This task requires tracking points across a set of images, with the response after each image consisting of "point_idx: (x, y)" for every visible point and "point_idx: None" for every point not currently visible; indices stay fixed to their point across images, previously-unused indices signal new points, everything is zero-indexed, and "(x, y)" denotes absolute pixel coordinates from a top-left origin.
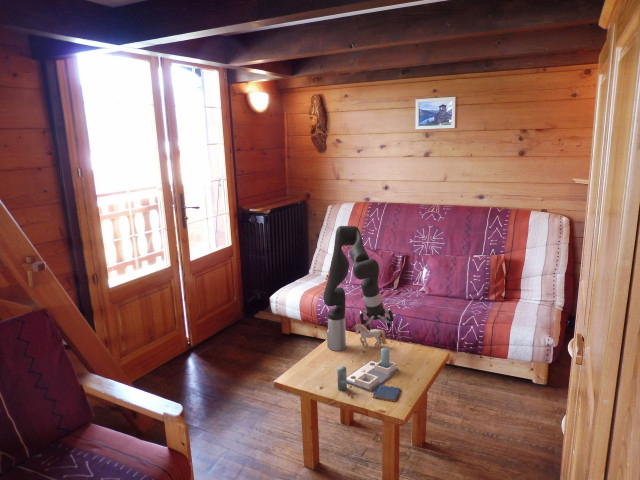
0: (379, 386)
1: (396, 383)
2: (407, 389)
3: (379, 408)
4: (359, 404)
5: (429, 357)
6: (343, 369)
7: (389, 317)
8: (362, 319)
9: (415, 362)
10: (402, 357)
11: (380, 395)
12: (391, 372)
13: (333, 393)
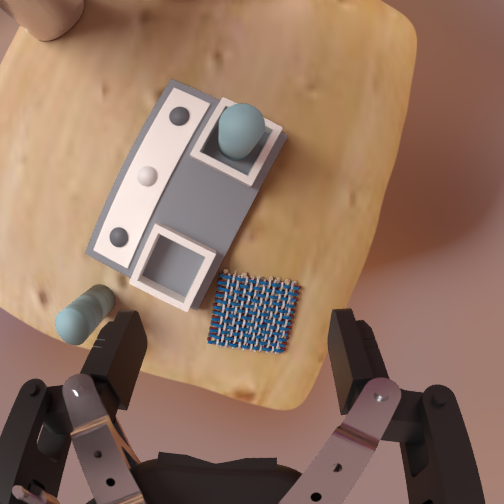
0: (223, 284)
1: (281, 235)
2: (318, 271)
3: (235, 386)
4: (174, 376)
5: (380, 47)
6: (80, 338)
7: (402, 423)
8: (53, 479)
9: (340, 75)
10: (292, 40)
11: (233, 340)
12: (261, 168)
13: None
